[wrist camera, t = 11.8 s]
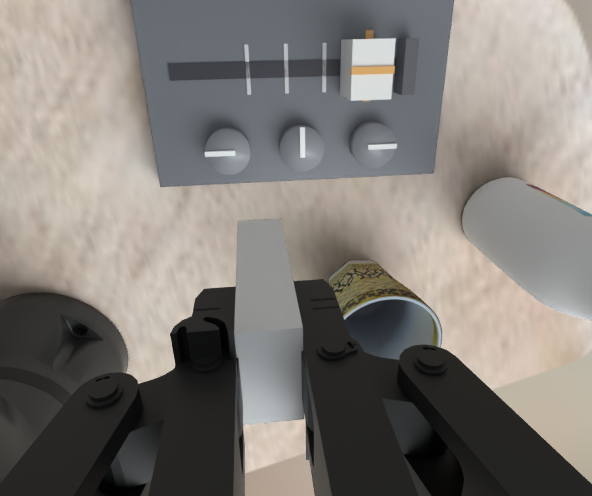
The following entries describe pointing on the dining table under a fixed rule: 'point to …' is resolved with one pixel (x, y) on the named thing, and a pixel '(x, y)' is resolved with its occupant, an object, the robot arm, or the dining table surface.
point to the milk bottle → (535, 242)
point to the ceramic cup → (382, 310)
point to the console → (287, 88)
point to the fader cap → (367, 69)
